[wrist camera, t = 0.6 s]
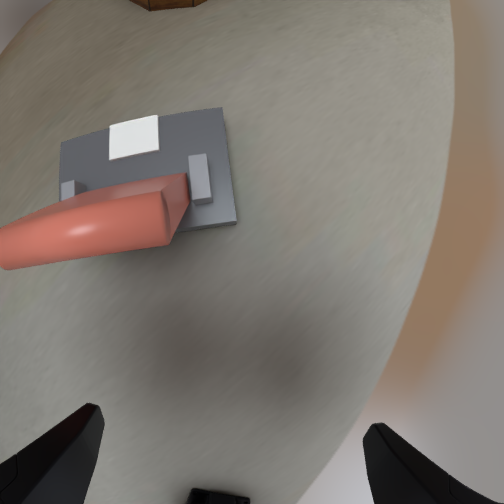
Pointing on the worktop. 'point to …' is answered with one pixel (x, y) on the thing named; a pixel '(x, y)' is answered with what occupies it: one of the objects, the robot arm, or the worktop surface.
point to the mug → (166, 4)
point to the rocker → (98, 223)
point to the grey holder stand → (157, 162)
